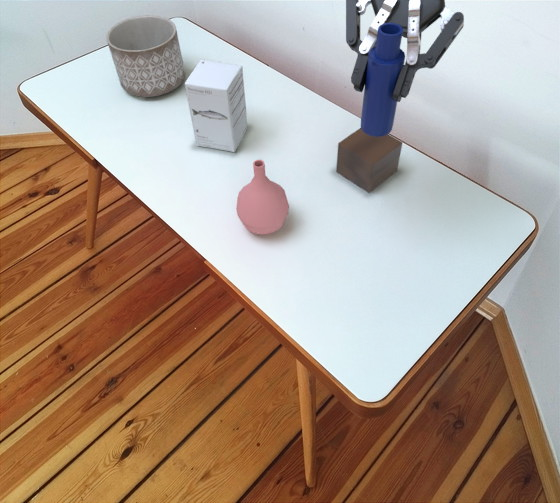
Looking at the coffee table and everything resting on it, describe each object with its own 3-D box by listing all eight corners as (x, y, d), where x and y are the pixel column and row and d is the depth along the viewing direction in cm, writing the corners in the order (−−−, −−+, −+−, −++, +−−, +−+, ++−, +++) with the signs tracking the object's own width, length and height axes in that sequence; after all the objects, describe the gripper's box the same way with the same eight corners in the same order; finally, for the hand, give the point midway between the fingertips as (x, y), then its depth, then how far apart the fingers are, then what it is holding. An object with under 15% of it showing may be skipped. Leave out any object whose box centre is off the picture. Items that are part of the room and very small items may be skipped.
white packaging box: (195, 147, 89) (182, 83, 79) (211, 121, 94) (200, 57, 84) (235, 154, 88) (226, 89, 78) (249, 127, 92) (243, 63, 82)
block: (397, 171, 84) (402, 142, 79) (369, 193, 81) (373, 164, 76) (364, 151, 87) (367, 122, 82) (336, 172, 84) (338, 143, 80)
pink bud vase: (248, 249, 75) (240, 190, 65) (231, 214, 79) (222, 153, 70) (297, 233, 76) (296, 173, 67) (278, 199, 81) (275, 138, 71)
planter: (187, 62, 106) (178, 13, 98) (184, 99, 98) (173, 48, 90) (126, 66, 106) (111, 17, 98) (118, 103, 98) (101, 53, 90)
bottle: (398, 126, 65) (417, 28, 55) (378, 141, 64) (393, 43, 53) (374, 112, 67) (388, 15, 57) (353, 126, 66) (363, 29, 55)
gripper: (359, -88, 55) (311, 73, 58) (495, -68, 51) (435, 104, 54) (371, -54, 62) (327, 88, 65) (491, -34, 58) (438, 116, 61)
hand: (377, 94), depth 60 cm, fingers closed on bottle, 4 cm apart
